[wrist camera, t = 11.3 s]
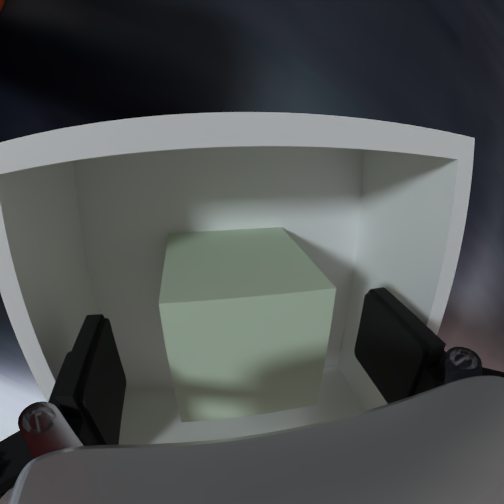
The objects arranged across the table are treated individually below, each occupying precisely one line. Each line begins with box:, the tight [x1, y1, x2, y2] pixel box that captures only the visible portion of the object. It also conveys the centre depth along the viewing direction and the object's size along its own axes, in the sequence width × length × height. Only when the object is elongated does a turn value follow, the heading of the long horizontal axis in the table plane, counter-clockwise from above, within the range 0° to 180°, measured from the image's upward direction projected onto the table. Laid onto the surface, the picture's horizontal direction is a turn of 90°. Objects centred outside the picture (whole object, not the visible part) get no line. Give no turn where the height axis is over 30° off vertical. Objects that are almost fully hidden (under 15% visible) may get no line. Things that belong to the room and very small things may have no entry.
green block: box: [159, 227, 336, 422], centre depth 12 cm, size 5×5×6 cm
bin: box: [0, 112, 475, 445], centre depth 13 cm, size 15×15×7 cm
